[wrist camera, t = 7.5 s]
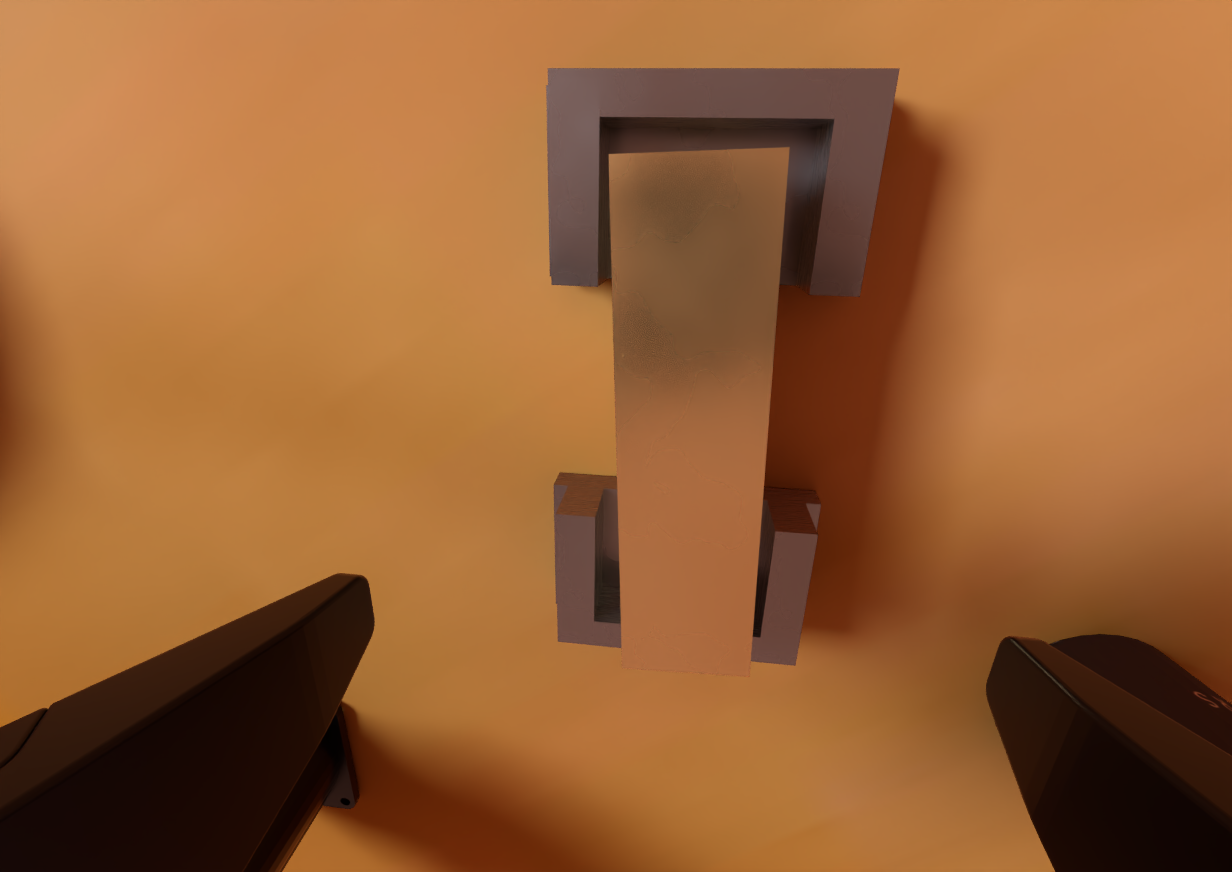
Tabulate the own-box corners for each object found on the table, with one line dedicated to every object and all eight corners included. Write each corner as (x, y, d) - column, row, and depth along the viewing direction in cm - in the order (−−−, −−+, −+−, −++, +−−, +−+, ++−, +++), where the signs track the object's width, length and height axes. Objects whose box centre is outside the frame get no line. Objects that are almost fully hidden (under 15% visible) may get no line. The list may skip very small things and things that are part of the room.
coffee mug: (955, 624, 21) (1160, 942, 12) (1228, 593, 20) (1709, 934, 10) (969, 840, 25) (1132, 1207, 16) (1199, 829, 23) (1532, 1233, 14)
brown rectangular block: (735, 571, 20) (749, 676, 16) (636, 566, 21) (622, 668, 16) (759, 165, 16) (789, 147, 11) (631, 169, 16) (608, 154, 11)
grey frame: (795, 609, 22) (810, 667, 19) (561, 587, 23) (543, 640, 20) (881, 93, 16) (922, 68, 13) (554, 92, 17) (527, 68, 14)
